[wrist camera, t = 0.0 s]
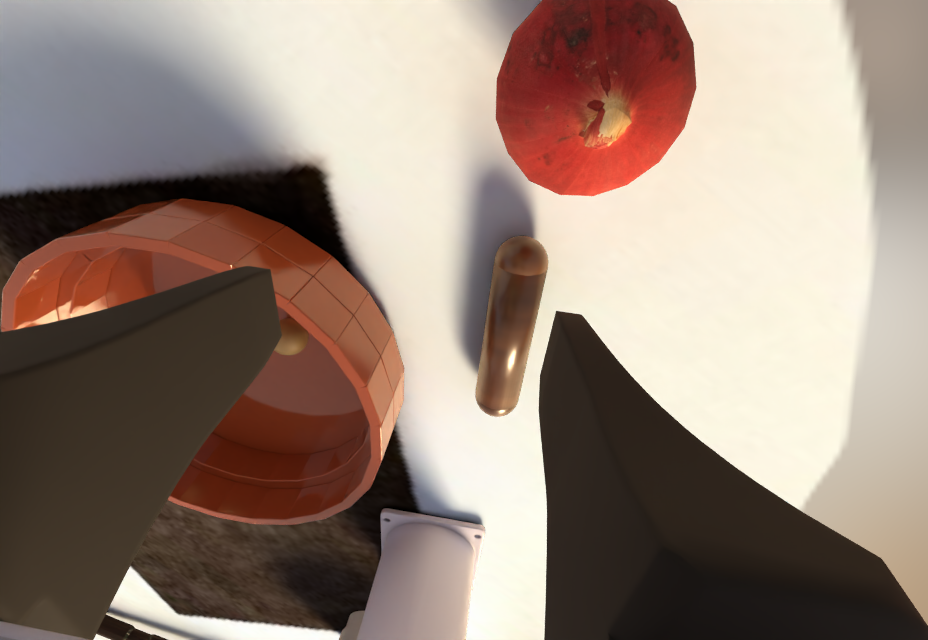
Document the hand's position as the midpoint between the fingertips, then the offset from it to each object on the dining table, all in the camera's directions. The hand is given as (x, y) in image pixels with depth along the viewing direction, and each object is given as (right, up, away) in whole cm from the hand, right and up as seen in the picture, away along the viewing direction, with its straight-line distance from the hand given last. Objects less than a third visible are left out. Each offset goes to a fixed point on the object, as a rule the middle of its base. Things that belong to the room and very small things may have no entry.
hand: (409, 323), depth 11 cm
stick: (+4, 0, +12) cm, 12 cm away
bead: (-8, -1, +12) cm, 14 cm away
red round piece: (+6, +9, +6) cm, 12 cm away
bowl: (-12, -2, +15) cm, 19 cm away
